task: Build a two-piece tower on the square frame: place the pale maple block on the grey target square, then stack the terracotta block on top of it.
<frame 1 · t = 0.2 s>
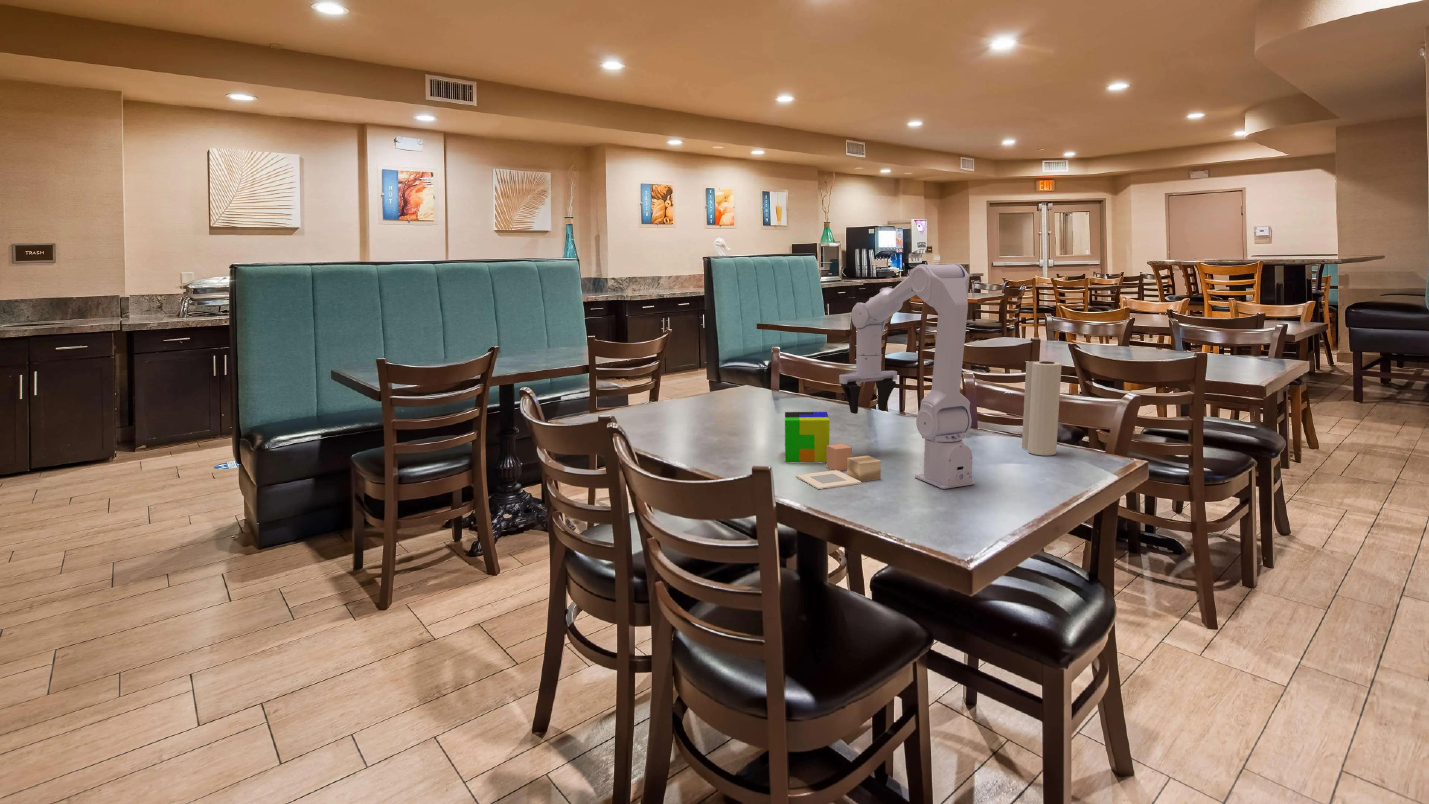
hand: (868, 411, 173), 10 cm above the table, tool pointing down, fingers open, 7 cm apart
maple block: (863, 477, 155), on the table
terracotta block: (839, 468, 162), on the table
puzzle toy: (806, 458, 172), on the table
square frame: (828, 480, 153), on the table
paper towel roll: (1040, 453, 171), on the table
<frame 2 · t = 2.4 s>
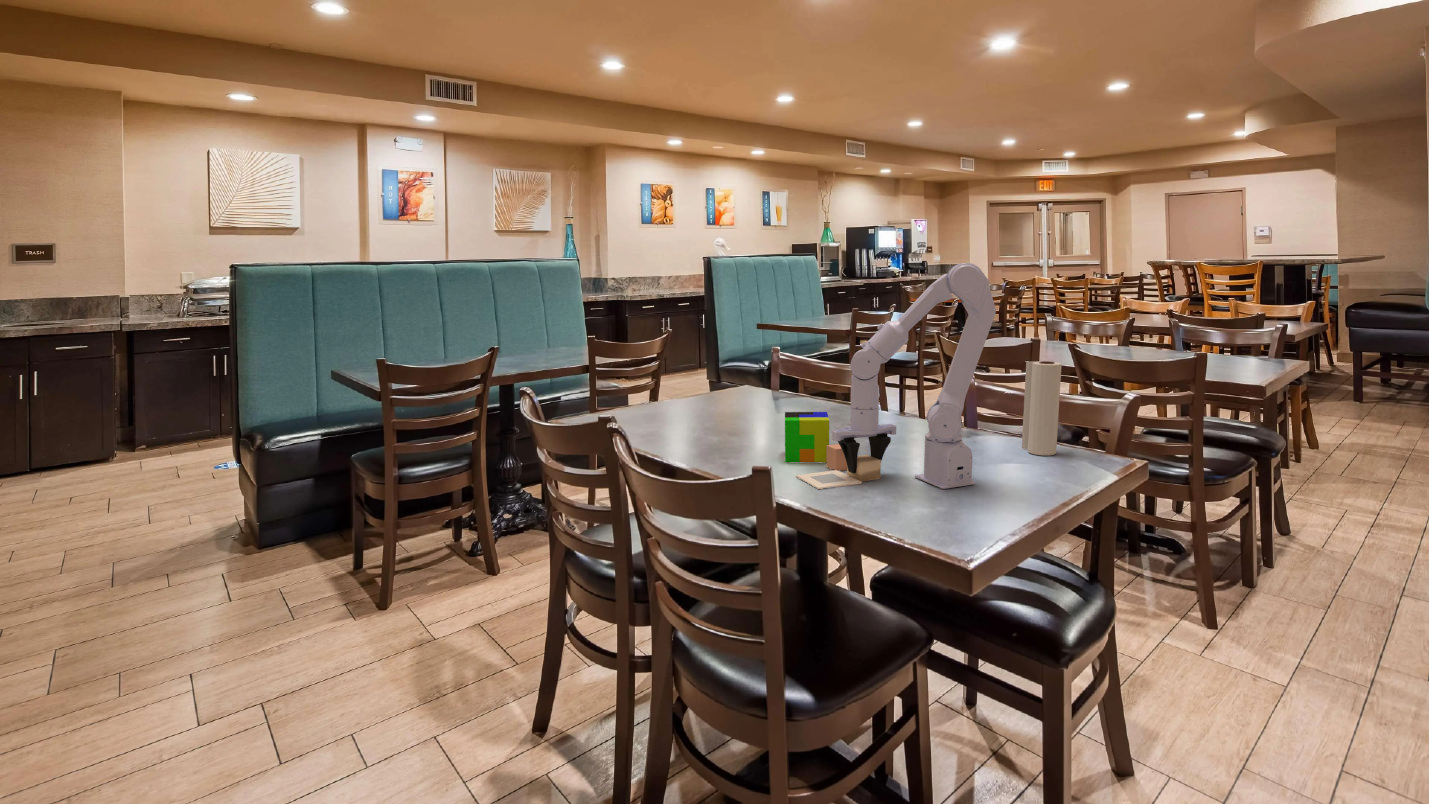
hand: (863, 470, 154), 1 cm above the table, tool pointing down, fingers closed on maple block, 5 cm apart
maple block: (863, 477, 155), on the table, touching gripper
everything else where it was.
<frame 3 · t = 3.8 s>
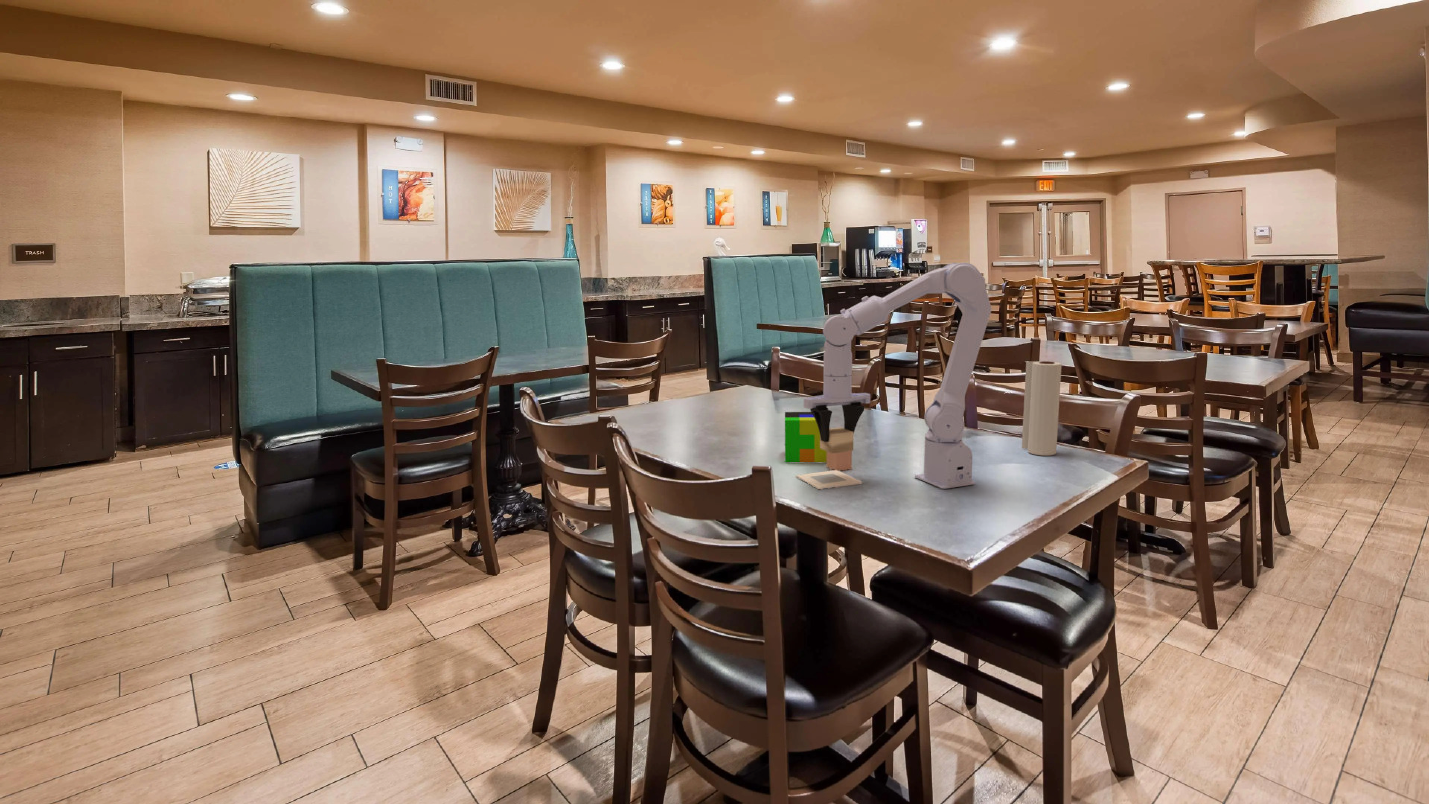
hand: (836, 439, 152), 9 cm above the table, tool pointing down, fingers closed on maple block, 5 cm apart
maple block: (836, 449, 152), point 6 cm above the table, touching gripper
everything else where it was.
when the fingers open (3 cm above the table, at t = 5.5 s): maple block stays where it is, resting on square frame.
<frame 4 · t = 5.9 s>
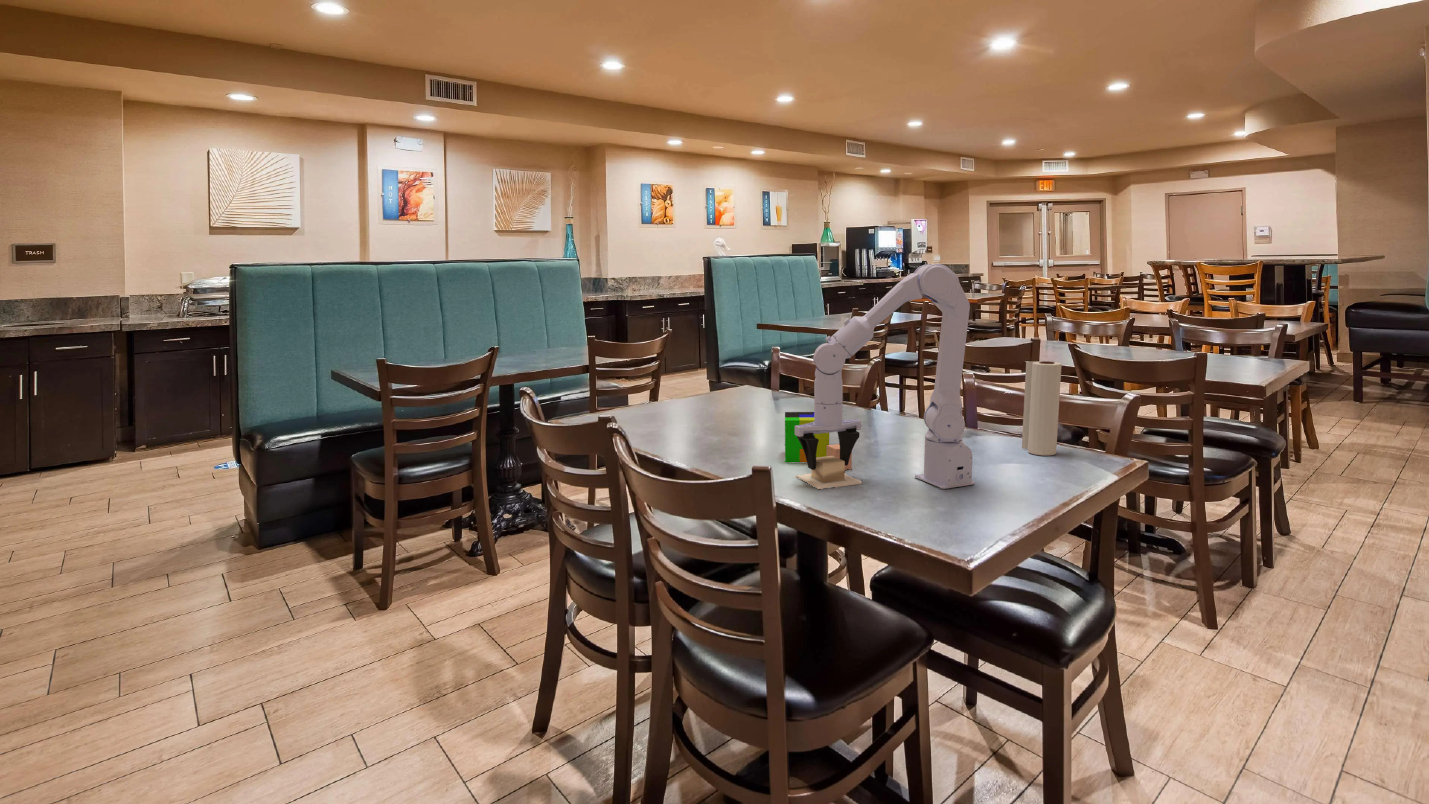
hand: (828, 466, 152), 3 cm above the table, tool pointing down, fingers open, 7 cm apart
maple block: (827, 478, 153), resting on square frame
everything else where it was.
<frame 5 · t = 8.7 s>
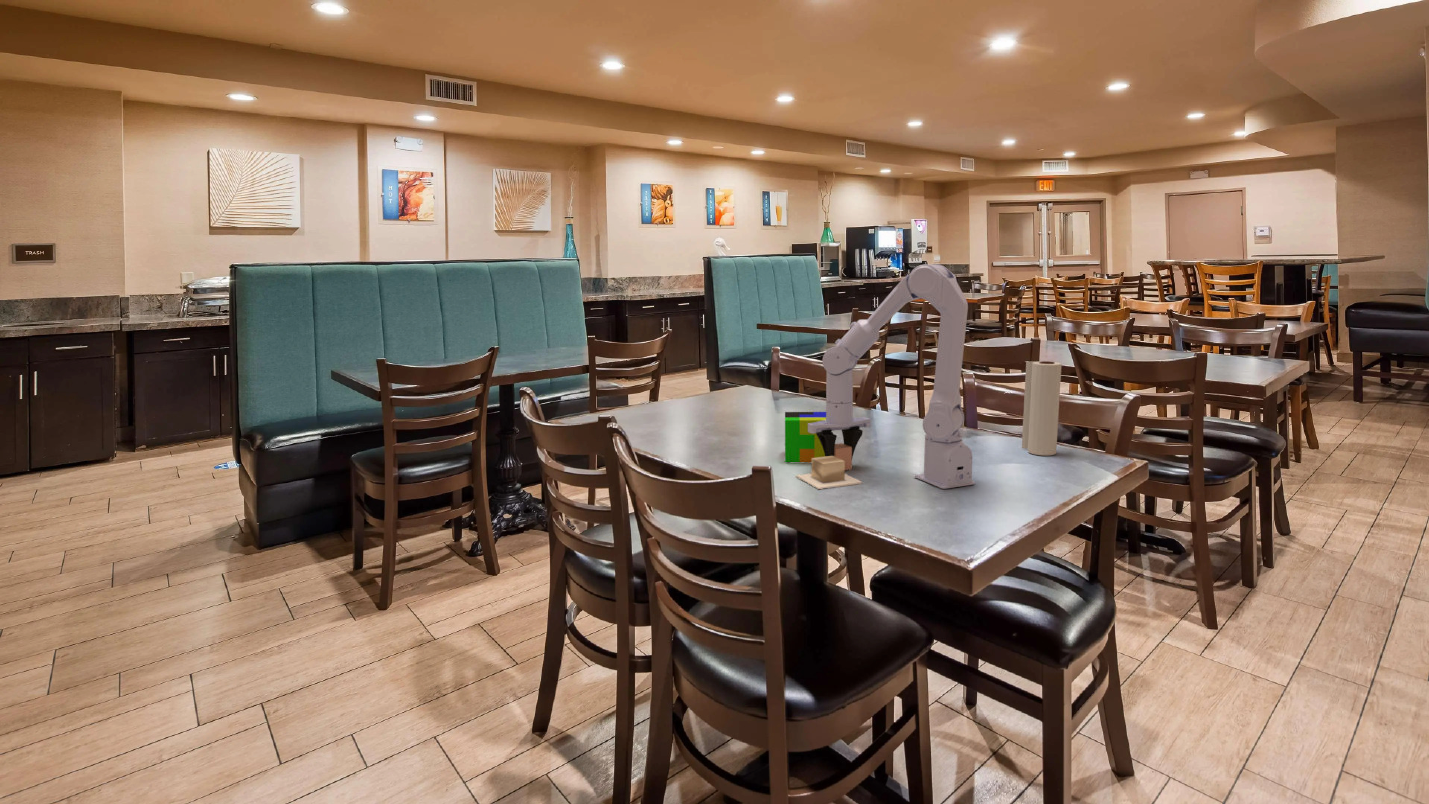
hand: (839, 461, 162), 1 cm above the table, tool pointing down, fingers closed on terracotta block, 4 cm apart
terracotta block: (838, 468, 162), on the table, touching gripper
everything else where it was.
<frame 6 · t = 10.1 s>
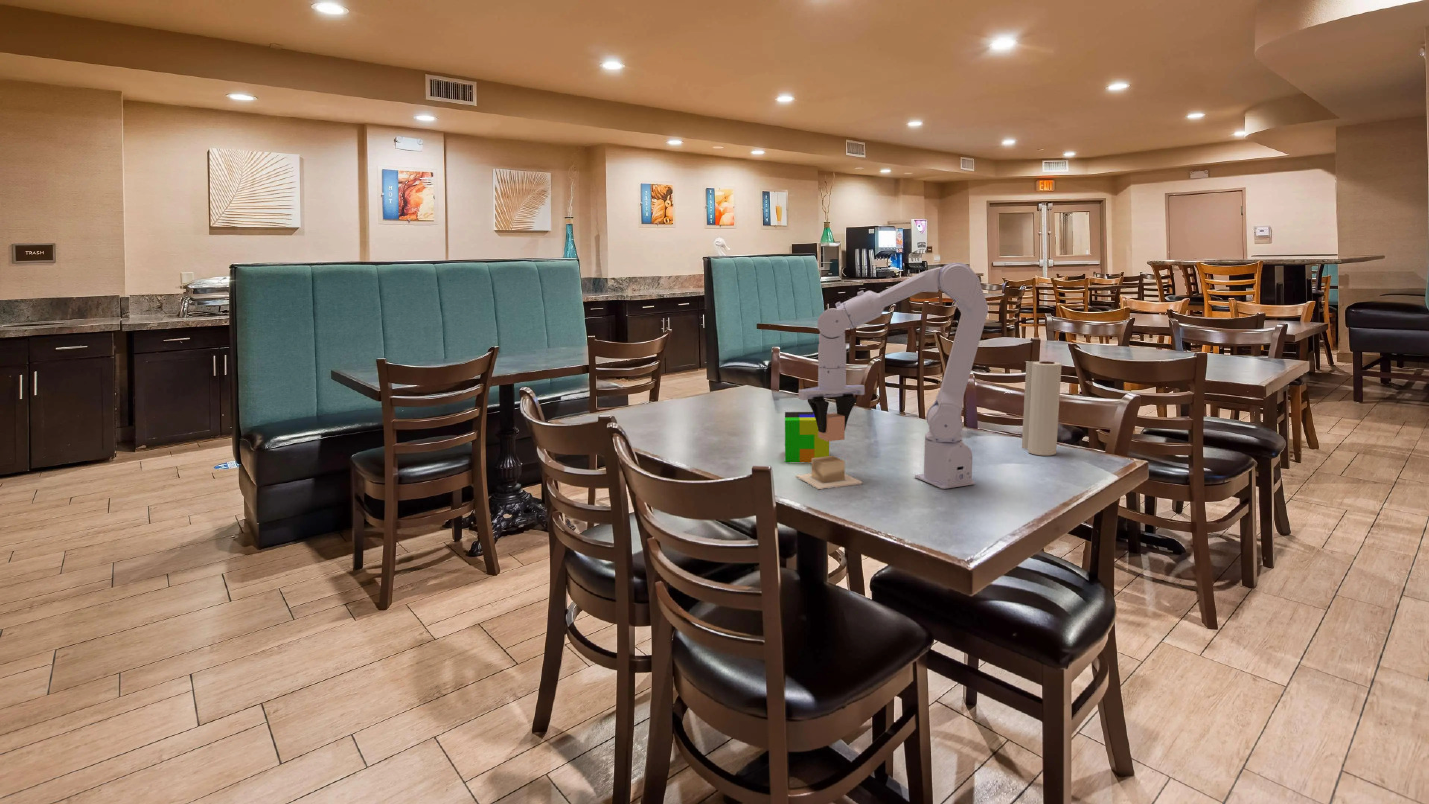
hand: (831, 430, 154), 10 cm above the table, tool pointing down, fingers closed on terracotta block, 4 cm apart
terracotta block: (831, 438, 154), point 8 cm above the table, touching gripper
everything else where it was.
when the fingers open (7 cm above the table, at t = 11.5 s): terracotta block stays where it is, resting on maple block.
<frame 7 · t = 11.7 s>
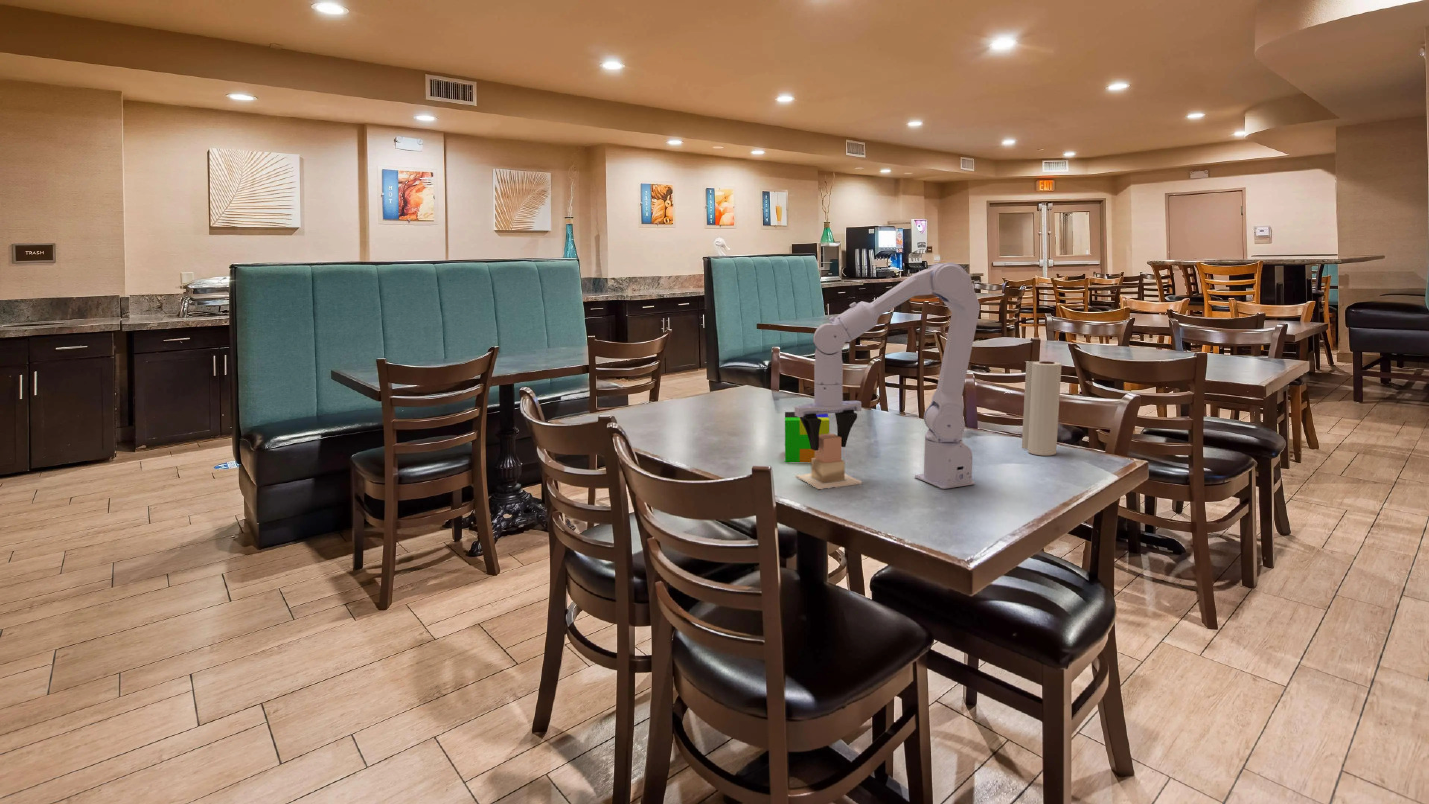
hand: (828, 447, 151), 7 cm above the table, tool pointing down, fingers open, 6 cm apart
maple block: (827, 478, 153), resting on square frame, touching terracotta block
terracotta block: (827, 459, 152), point 4 cm above the table, touching maple block
everything else where it was.
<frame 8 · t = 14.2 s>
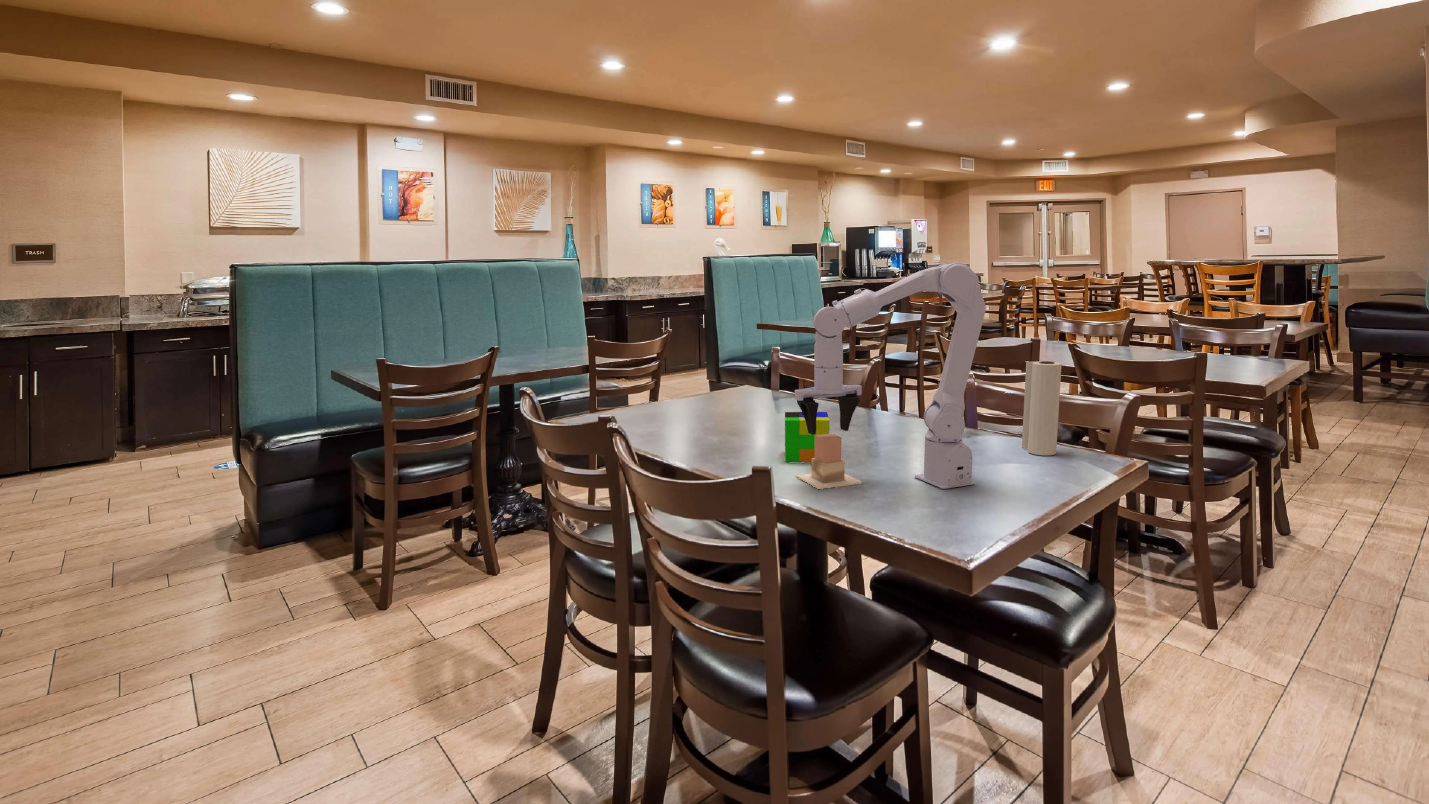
hand: (828, 431, 151), 10 cm above the table, tool pointing down, fingers open, 7 cm apart
nothing on the table moved.
at the end: maple block 0.1 cm off-centre on the square frame, point 0.4 cm above the square frame's base; terracotta block 0.0 cm off-centre on the maple block, point 4.0 cm above the maple block's base; terracotta block tilted 0° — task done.
